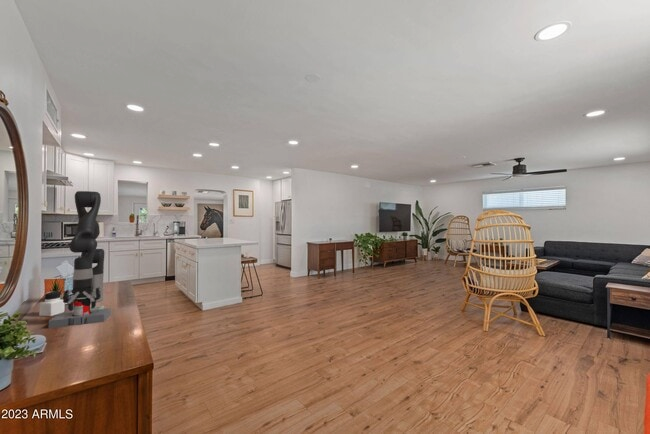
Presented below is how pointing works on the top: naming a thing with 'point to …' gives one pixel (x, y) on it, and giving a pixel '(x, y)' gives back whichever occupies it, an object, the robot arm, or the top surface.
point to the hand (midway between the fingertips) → (82, 309)
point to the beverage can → (81, 306)
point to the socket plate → (79, 318)
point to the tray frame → (96, 308)
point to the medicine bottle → (52, 304)
